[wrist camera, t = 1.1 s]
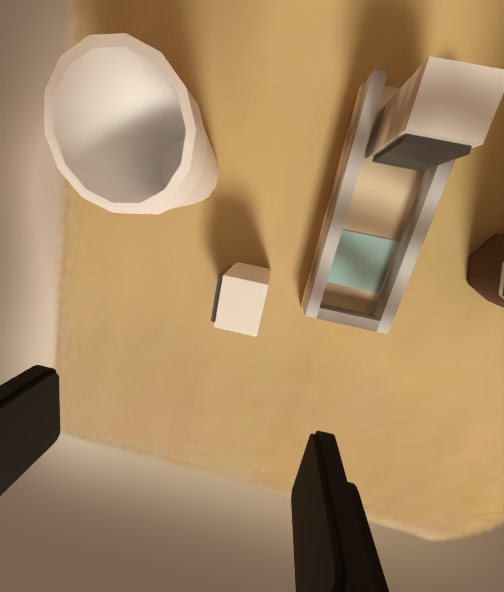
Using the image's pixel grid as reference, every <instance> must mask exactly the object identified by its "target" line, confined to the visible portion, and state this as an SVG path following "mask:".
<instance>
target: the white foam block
mask: <svg viewBox="0 0 504 592" xmlns="http://www.w3.org/2000/svg"><path fill="white" fill-rule="evenodd" d="M270 270H271V269H268V268H263V267H259V266H254V265H249V264H245V263H240V262H236V263H235V264H234V265H233V266H229V267H228V268H227V269H226V270H225V271H223V272H222V273H221V274H220V275H219V276H218V281H217V287H216V293H215V299H214V305H213V311H212V317H211V321H213V322H215V326H214V327H216V328H220V329H224V330H229V331H233V332H238V333H242V334H247V335H251V336H255V337H257V333H258V329H259V324H260V320H261V315H262V311H263V306H264V302H265V297H266V293H267V288H268V283H269V277H270Z"/></svg>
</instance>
